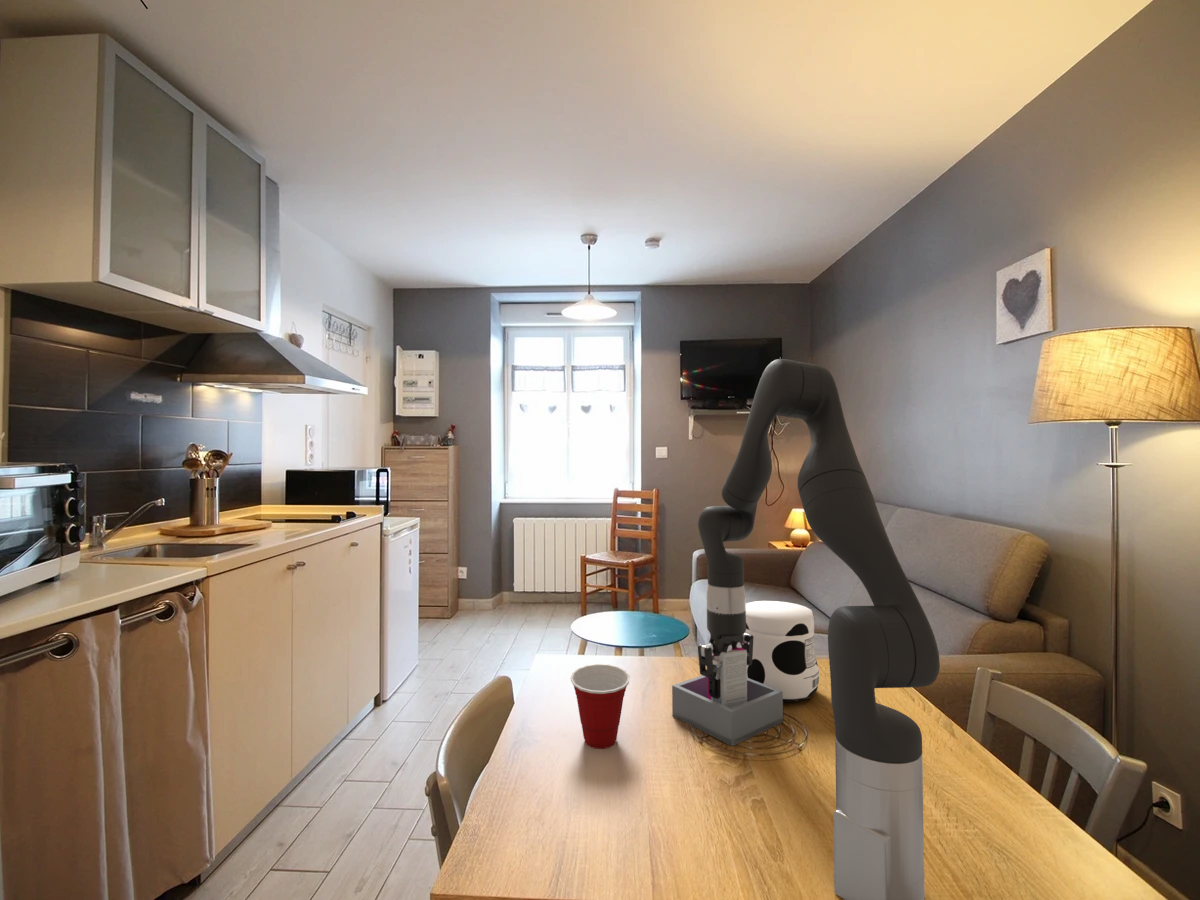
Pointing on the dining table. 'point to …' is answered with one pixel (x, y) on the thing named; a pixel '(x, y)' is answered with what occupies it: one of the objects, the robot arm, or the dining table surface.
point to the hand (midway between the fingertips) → (727, 692)
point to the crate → (727, 710)
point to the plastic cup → (600, 702)
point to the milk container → (783, 648)
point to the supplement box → (732, 678)
